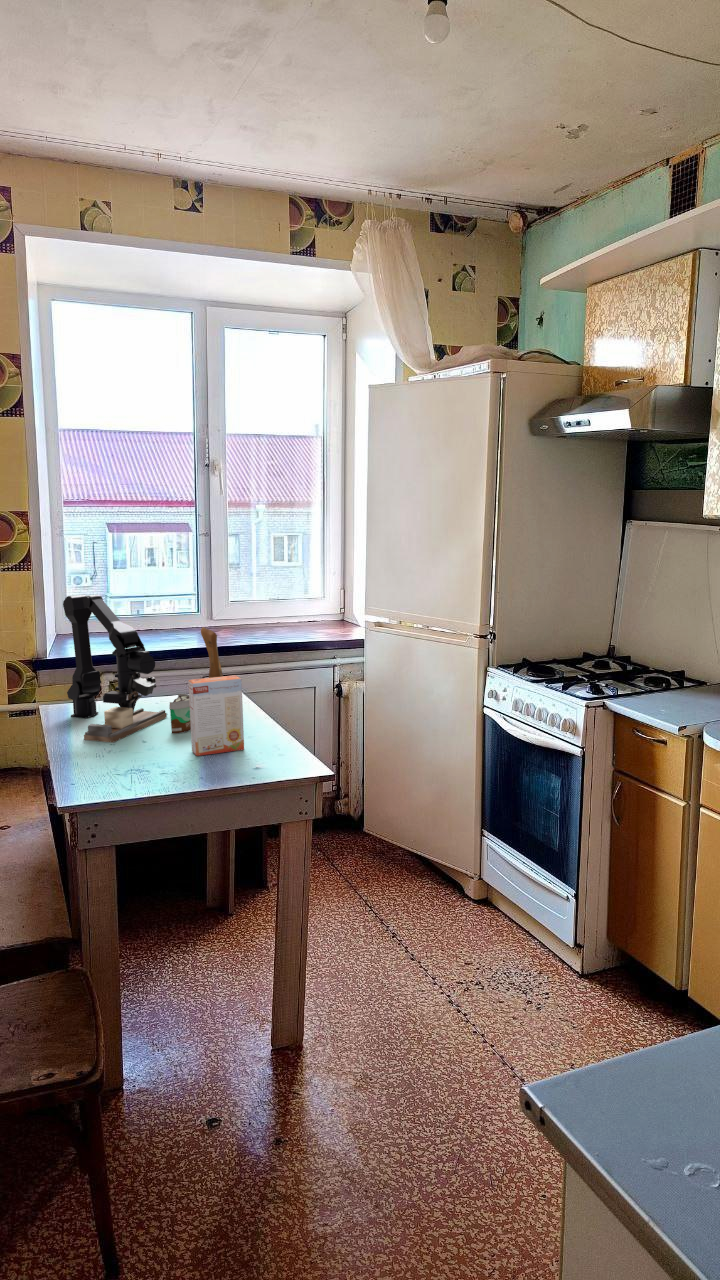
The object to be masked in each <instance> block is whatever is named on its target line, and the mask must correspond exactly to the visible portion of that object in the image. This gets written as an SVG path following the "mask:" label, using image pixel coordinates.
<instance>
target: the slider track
mask: <svg viewBox="0 0 720 1280" xmlns="http://www.w3.org/2000/svg"><path fill="white" fill-rule="evenodd" d="M167 714H168V713H167V712H166V710H165V709H162V710H159V711H152V710H151V711H150V710H149V711H147V710H145V709H144V708H142V707H141V708H138V709H136V710H134V712H133V724H131V725H128V726H126V727H124V728H122V729H118V728H112V726H111V725H105V723H104V724H100V723H99V724H97V723H90V724H88V725H87V731H85V732H84V735H83V741H93V742H103V743H110V744H111V743H116V742H117V741H120V740H122V739H124V738H126V737H129V736H130V735H132V734H134V733H137V732H138V731H141V730H143V729H145V728H147V727H150V726H151V725H153V724H155V723H158V722H159V721H162V720H164V719H166V718H167V717H168V716H167Z"/></svg>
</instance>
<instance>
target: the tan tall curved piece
mask: <svg viewBox="0 0 720 1280" xmlns="http://www.w3.org/2000/svg"><path fill="white" fill-rule="evenodd" d="M200 635H201V637H202V639H203V641H204V644H205V648H206V650H207V653H208V659H209V670H208V678H213V677H223V676H224V675H223V670H222V666H221V662H220V658H219V650H218V635H217V633H216V632H214V631H213V630H212V629H208V628H206V627H204V626H202V628H201V629H200Z"/></svg>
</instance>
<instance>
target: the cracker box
mask: <svg viewBox="0 0 720 1280" xmlns="http://www.w3.org/2000/svg"><path fill="white" fill-rule="evenodd" d="M242 680H243V679H242V678H241V677H240V676H237V675H235V674H234V675H227V676H226V675H225V676H224V675H223V677H213V678H209V677H205V678H195V679H189V680H188V695H189V704H190V723H191V730H190V739H191V751H192V753H193V754H194V755H195V756H196V757H200V756H207V755H213V754H214V755H215V754H223V753H228V752H229V753H230V752H237V751H243V750H245V738H244V737H245V734H244V709H243V683H242Z"/></svg>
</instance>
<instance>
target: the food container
mask: <svg viewBox="0 0 720 1280" xmlns="http://www.w3.org/2000/svg"><path fill="white" fill-rule="evenodd" d="M169 714H170V727H171V734H183V733H188V732H191V723H190V704H189V693H177V697H176V698H175V699H173V701H170V702H169Z"/></svg>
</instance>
